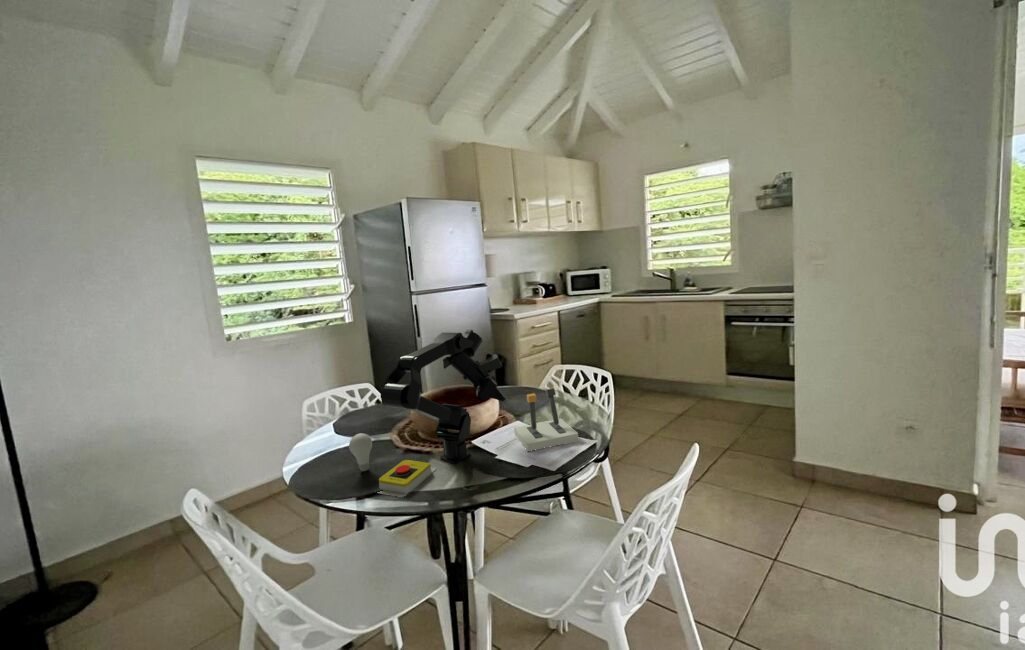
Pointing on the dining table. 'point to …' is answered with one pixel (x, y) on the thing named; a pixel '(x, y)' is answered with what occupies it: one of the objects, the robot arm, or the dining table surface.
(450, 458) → the robot arm
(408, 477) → the emergency button
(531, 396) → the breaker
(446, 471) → the dining table surface
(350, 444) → the lightbulb
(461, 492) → the dining table surface
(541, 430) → the breaker panel
